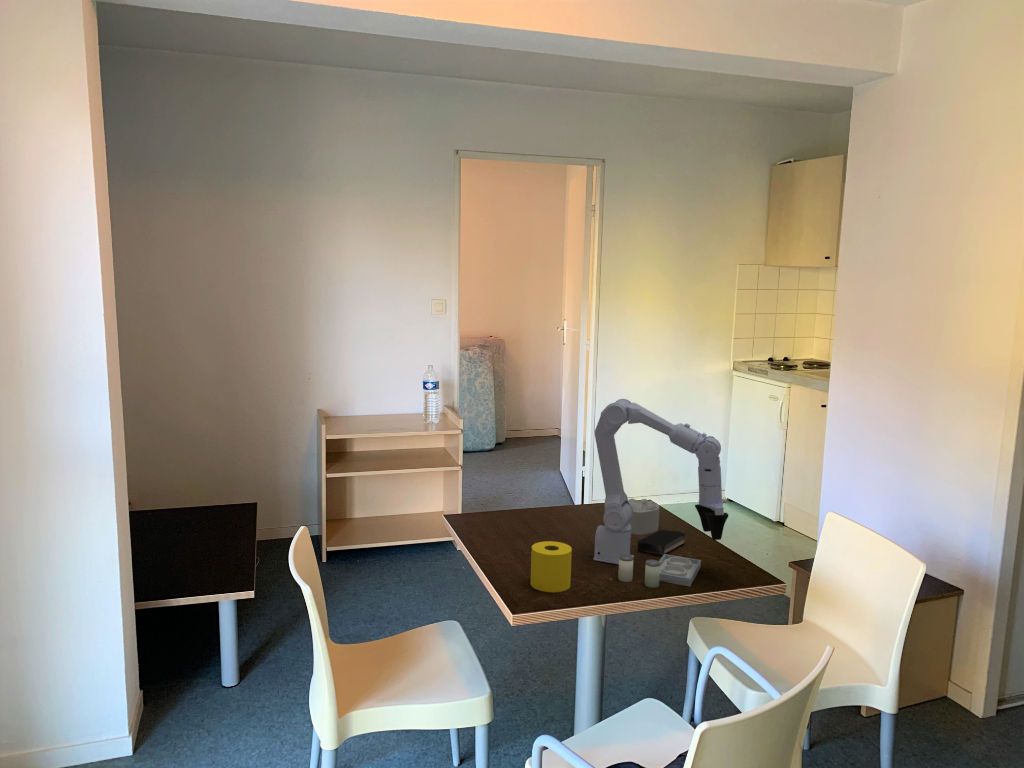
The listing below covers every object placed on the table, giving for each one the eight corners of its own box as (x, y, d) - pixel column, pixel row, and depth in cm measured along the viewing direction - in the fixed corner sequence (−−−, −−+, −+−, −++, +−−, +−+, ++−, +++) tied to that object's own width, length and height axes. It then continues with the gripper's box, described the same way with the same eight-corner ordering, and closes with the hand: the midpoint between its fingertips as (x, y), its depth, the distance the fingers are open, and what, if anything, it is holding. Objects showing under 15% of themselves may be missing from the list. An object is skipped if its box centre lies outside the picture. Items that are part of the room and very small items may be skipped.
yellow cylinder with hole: (578, 587, 187) (579, 550, 186) (545, 595, 181) (547, 557, 180) (554, 574, 195) (556, 539, 194) (522, 581, 190) (523, 545, 189)
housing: (651, 579, 193) (651, 571, 193) (663, 561, 207) (664, 553, 207) (690, 586, 189) (690, 578, 189) (700, 567, 203) (701, 559, 203)
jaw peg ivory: (616, 580, 192) (617, 557, 191) (620, 575, 195) (621, 553, 195) (630, 583, 191) (631, 560, 190) (633, 578, 194) (635, 555, 193)
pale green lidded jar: (643, 586, 189) (644, 563, 188) (646, 581, 192) (647, 558, 191) (657, 588, 187) (658, 565, 187) (660, 583, 191) (661, 561, 190)
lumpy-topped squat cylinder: (613, 527, 236) (615, 500, 235) (641, 520, 244) (642, 494, 243) (638, 536, 228) (640, 508, 227) (666, 528, 236) (668, 501, 235)
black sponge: (661, 559, 209) (662, 546, 209) (634, 551, 215) (635, 539, 214) (687, 544, 222) (687, 532, 222) (661, 538, 227) (662, 526, 227)
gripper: (734, 489, 188) (736, 542, 189) (716, 477, 203) (718, 526, 204) (706, 491, 188) (709, 544, 189) (690, 479, 202) (692, 528, 204)
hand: (712, 535), depth 196 cm, fingers open, 7 cm apart
